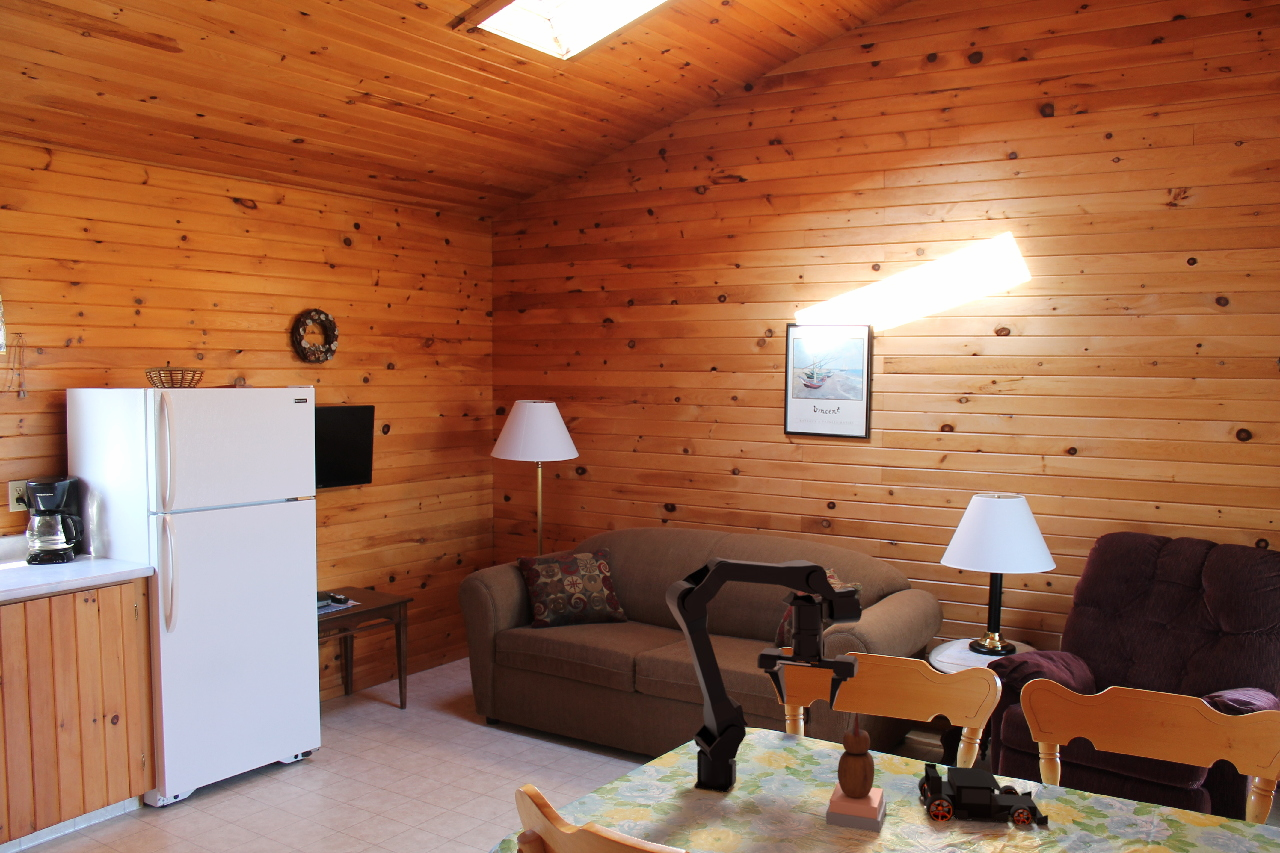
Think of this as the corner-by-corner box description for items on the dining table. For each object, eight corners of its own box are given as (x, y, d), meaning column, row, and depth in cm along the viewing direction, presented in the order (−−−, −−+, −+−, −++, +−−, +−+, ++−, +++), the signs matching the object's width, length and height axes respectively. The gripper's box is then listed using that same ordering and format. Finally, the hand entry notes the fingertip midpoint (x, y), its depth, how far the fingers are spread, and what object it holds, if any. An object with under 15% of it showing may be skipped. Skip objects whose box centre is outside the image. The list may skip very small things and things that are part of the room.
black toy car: (1048, 828, 164) (1048, 786, 164) (927, 822, 166) (927, 781, 166) (1031, 802, 174) (1031, 763, 174) (917, 797, 177) (917, 758, 177)
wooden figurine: (866, 805, 163) (866, 717, 163) (833, 797, 166) (833, 712, 166) (878, 790, 169) (878, 706, 168) (846, 783, 172) (846, 701, 171)
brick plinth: (826, 823, 165) (826, 800, 165) (835, 802, 174) (835, 780, 173) (879, 832, 162) (879, 809, 162) (886, 810, 170) (886, 788, 170)
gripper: (862, 621, 190) (862, 699, 191) (770, 613, 197) (770, 688, 198) (853, 634, 180) (853, 716, 181) (756, 626, 187) (756, 705, 187)
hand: (807, 706), depth 187 cm, fingers open, 9 cm apart
